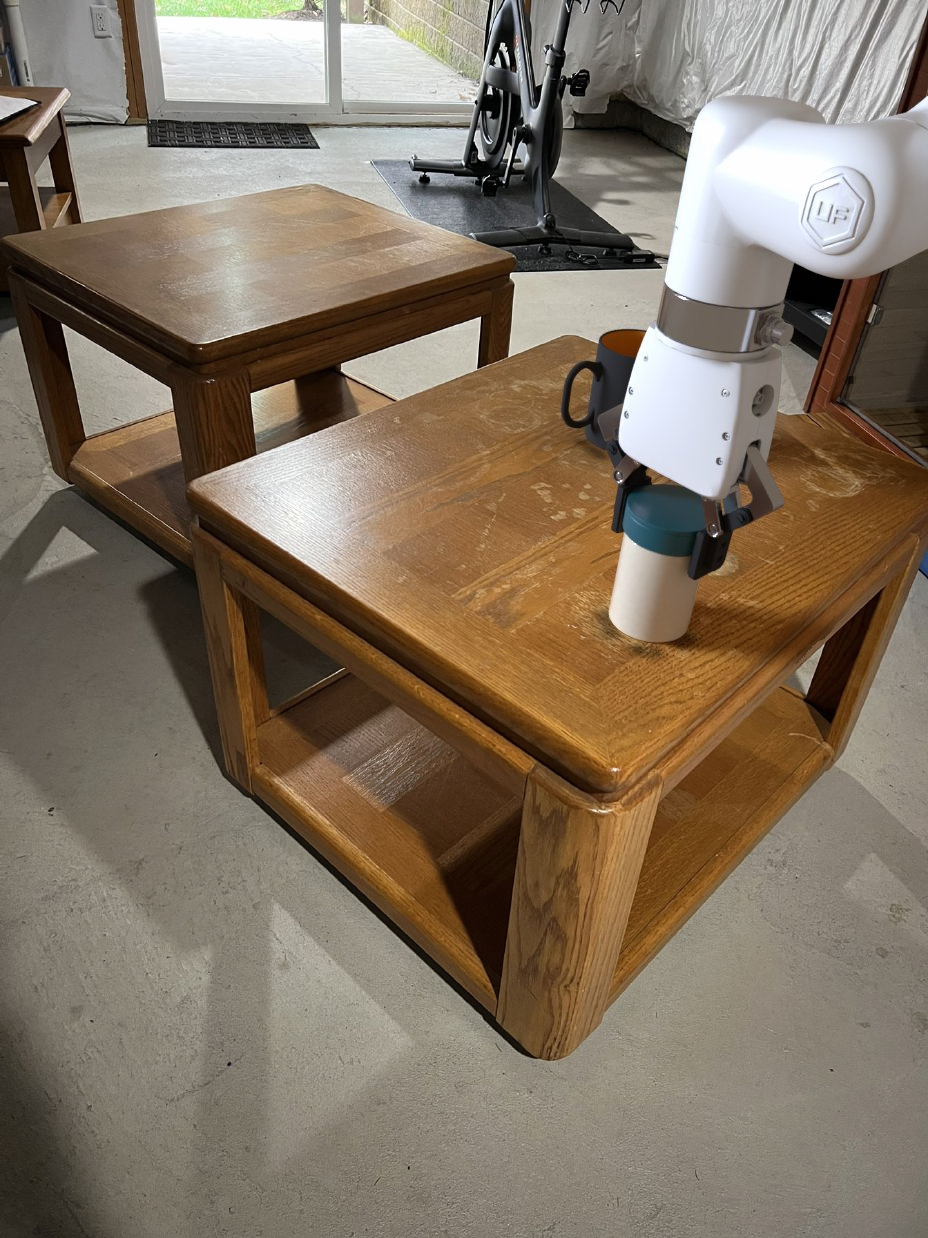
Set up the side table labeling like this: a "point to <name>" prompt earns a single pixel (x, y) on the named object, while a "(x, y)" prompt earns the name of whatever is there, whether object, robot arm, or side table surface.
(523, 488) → the side table surface
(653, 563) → the jar
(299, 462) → the side table surface
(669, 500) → the jar lid
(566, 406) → the mug
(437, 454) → the side table surface
